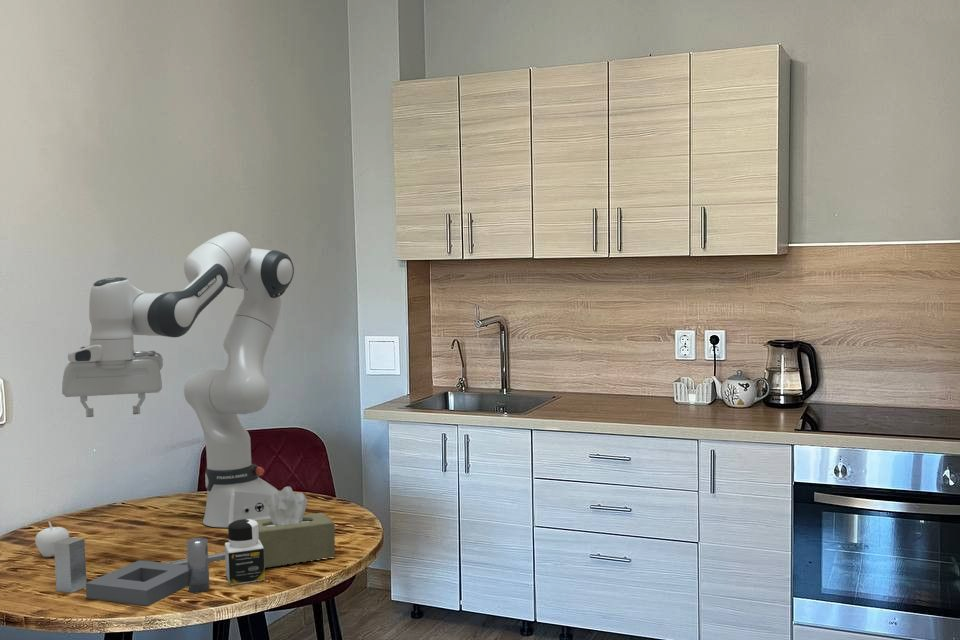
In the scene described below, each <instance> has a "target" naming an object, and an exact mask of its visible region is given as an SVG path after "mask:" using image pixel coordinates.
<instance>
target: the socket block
mask: <svg viewBox="0 0 960 640" xmlns="http://www.w3.org/2000/svg"><path fill="white" fill-rule="evenodd" d="M186 587H189V584H188V565H179V564H170V563H165V562H161V561H159V562H158V561H150V560H140V559H138V560H136V561H134V562H132V563H129V564H127V565H125V566H122V567H119V568H118V569H115V570H113V571H111V572H108V573H106V574H103V575H102V576H99V577H97V578H94V579H93V580H89V581H88V582H87V583H86V587H85V599H89V600H90V599H91V600H97V601H99V600H100V601H104V602H106V601H107V602H114V603H121V604H130V605H135V606H136V605H137V606H146V607H149V606H150V605H152V604H154V603H156V602H159V601H160V600H162V599H164V598H166V597H169V596H171V595H172V594H174V593H176V592H179V591H180V590H182V589H185V588H186Z"/></svg>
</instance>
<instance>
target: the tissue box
mask: <svg viewBox="0 0 960 640" xmlns="http://www.w3.org/2000/svg"><path fill="white" fill-rule="evenodd" d="M264 501H265V504H266V506H267V509H268V512H269V515H270V518H271V519H263V520H254V521H256V522H257V523H258V532H259V540H260V542H261V543H262V545H263V547H264V565H265V569H266V568H272V567H273V568H274V567H279V566H280V567H281V565H282V566H286V565H287V564H289V565H293V563H296V564H300V563H299V562H303V563H306V562H305V561H311V560H317V559H322V558H328V557H334V556H335V557H336V551H335V550H336V544H335V543H336V541H335V540H336V537H335V533H336V532H335V529H336V527H335V522H334V521H333V520H331V519H330V518H329V517H328V516H327V515H325V514H324V513H323V512H317V513H316V512H315V513H307V514H305V513H306V512H305V511H306V509H307V505H308V497H306V496H305V494H304V493H302V492H294V490H293V488H292V487H291V486H285V487H283V488H282V489H281V490H280V491H279V492H278V493H277V494H272V495H271V496H270V497H269V498H268V499H266V500H264ZM311 562H312V561H311Z"/></svg>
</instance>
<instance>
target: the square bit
mask: <svg viewBox="0 0 960 640" xmlns="http://www.w3.org/2000/svg"><path fill="white" fill-rule="evenodd" d="M54 555H55V556H54V569H55V570H54V571H55V572H54V573H55V588H56V590H55V591H56V592H60V593H66V594H67V593H68V594H73V593H75V592H77V591H79V590H82V589H86V583H87V566H86V564H87V563H86V545H85V538H83V537H82V538H81V537H73V536H72V537H70V536H69V537H68V538H65V539H63V540H60V541H57V542H54Z"/></svg>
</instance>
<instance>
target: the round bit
mask: <svg viewBox="0 0 960 640" xmlns="http://www.w3.org/2000/svg"><path fill="white" fill-rule="evenodd" d="M208 555H209V542H208V537H193V538H190V539H187V540H186V559H187V562H188V584H189V585H188V592H189V593H190V594H191V593H192V594H199V593H205V592H207V591H209V590H210V589H209V588H210V568H209V566H210V565H209V564H210V563H208ZM204 591H205V592H204Z"/></svg>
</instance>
